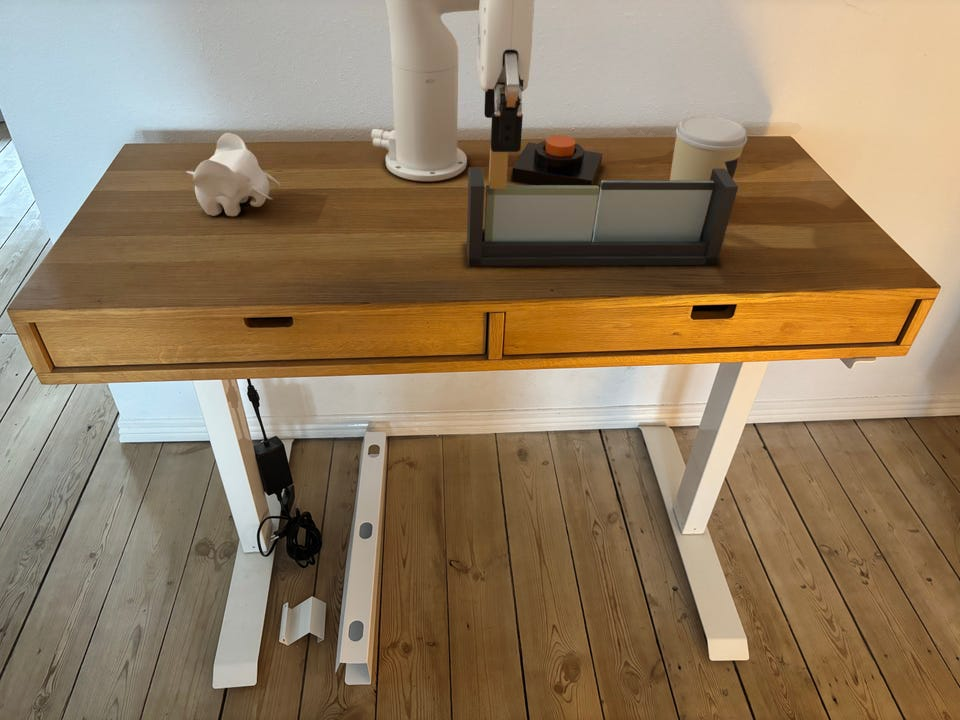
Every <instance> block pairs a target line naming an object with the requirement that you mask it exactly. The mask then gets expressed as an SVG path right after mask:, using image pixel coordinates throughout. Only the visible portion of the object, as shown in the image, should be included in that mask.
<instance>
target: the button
mask: <svg viewBox="0 0 960 720" xmlns="http://www.w3.org/2000/svg"><path fill="white" fill-rule="evenodd" d="M545 140H546V146H545V152H546V153H548V154H551V155H553V156H560V157H562V156H571V155H573V154H574V150H575V143H576V140H575V139H574V138H572V137H571V136H568V135H563V134H555V135H550V136H548V137H547V138H546V139H545Z"/></svg>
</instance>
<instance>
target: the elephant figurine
mask: <svg viewBox="0 0 960 720" xmlns="http://www.w3.org/2000/svg"><path fill="white" fill-rule="evenodd" d="M186 174H188V175H190V176H192V180H191V181H192V183H193V184H194V192H195V193H194V194H195V196H196V200H197V202H198V204H199V205H200V207H201V208H202V210H203V211H204V212H205V213H206V214H207V215H209V216H212V217H216V216H218V215H220V214H222V212H223V210H224V213H225V215H226V216H228V217H237V216H238V215H239V214H240V213H241V206H240V205H241V204H244V203H246V202H247V201H248V199H249V197H252V199H251V200H250V201H249V204H250V206H252V207H254V208H260V207H261V206H263V205H264V204H265V202H266V200H272V201H274V199H273V198H272V197H271V196H269V195H270V190H271V186H270V182H269V180H270V181H272V182H273V183H275V184H276V185H278V186H281V187H282V185H281V183H280V182H279V181H277V180H276V178H274V177H273V176H272V175H271V174H269V173H268V172H264V171H263V170H262V168H261V167H260V165H259V162H258V158H257V157H256V156H255V154H254V153H252V152H251V150H249V149H248V146H247V145H246V143H245V141H244V140H243V139H242V138H241V137H240V136H239V135H237V134H234V133H232V132H225V133H224V134H222V135H221V136H220V137H219V138H218V139H217V142H216V149H215V151H214V154H213V155H212V156H211V157H210V158H209V159H204V160H203V161H201V162H200V163H199V164H198V165H197V167H196V168H195V171H191V170H190V171H189V170H187V171H186ZM222 207H223V208H222Z"/></svg>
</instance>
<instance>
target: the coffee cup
mask: <svg viewBox="0 0 960 720" xmlns="http://www.w3.org/2000/svg"><path fill="white" fill-rule="evenodd" d="M675 135H676V136H675V141H674V142H675V143H674V149H673V155H672V163H671V169H670V177H669V180H680V181H710V178H711V174H712V170H713V169H726V171H727V172H728V173H729V175H730V176H731V177H732V179H733V180H734V176H735V173H736V171H737V168H738V164H739V162H740V159H741V156H742V153H743V150H744V146H745V145H746V144H747V141H748V134H747V129H746V128H745V127H744V126H743V125H742V124H740V123H739V122H736V121H734V120H731V119H729V118H726V117H722V116H715V115H705V114H704V115H703V114H702V115H701V114H700V115H691V116H687V117H685V118H684V119H682V120H681V121H679V124H678V125H677V126H676V129H675Z"/></svg>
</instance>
